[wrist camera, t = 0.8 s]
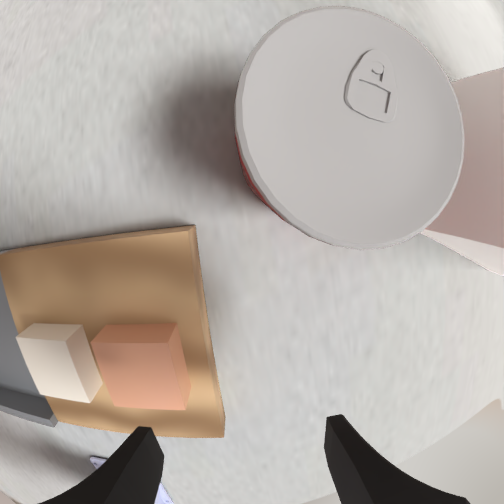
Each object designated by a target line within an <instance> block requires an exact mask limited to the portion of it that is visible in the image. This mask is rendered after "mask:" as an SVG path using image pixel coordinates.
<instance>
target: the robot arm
mask: <svg viewBox="0 0 504 504" xmlns="http://www.w3.org/2000/svg"><path fill="white" fill-rule="evenodd" d="M324 449H325V454H326V459H327V463H328V467H329V470H330V473H331V476H332V479H333V481H334V484H335V487H336V490H337V493H338V495H339V498H340V501H341V504H470V503H469V502H468V500H467V499H466V498H464V497H460V496H456V495H453V494H449V493H446V492H443V491H441V490H438V489H436V488H433V487H431V486H429V485H427V484H425V483H422V482H420V481H418V480H416V479H414V478H413V477H411V476H409V475H408V474H406V473H404V472H403V471H401V470H400V469H398V468H397V467H395V466H394V465H393V464H391V463H390V462H389V461H388V460H386V459H385V458H384V457H383V456H381V455H380V454H379V453H378V452H377V451H376V450H375V449H374V448H373V447H371V446H370V445H369V444H368V443H367V442H366V441H365V440H364V439H363V438H362V437H361V436H360V434H359V433H358V432H357V431H356V430H355V429H354V428H353V427H352V425H351V424H350V423H349V422H348V421H347V419H346V418H345V417H344V416H343V415H342V414H340V415H335V416H330V417H327V421H326V432H325V442H324ZM90 461H91V462H92V464H93V465H94V467H95V468H96V469H97V470H96V471H95V472H93V473H92V474H91V475H90V476H88V477H87V478H86V479H84V480H83V481H82V482H80V483H79V484H77V485H76V486H74V487H73V488H71V489H69V490H67V491H66V492H64V493H62V494H60V495H58V496H56V497H54V498H52V499H49V500H47V501H45V502H42V503H39V504H174V503H173V502H172V500H171V498H170V497H169V495H168V494H167V492H166V490H165V489H164V487H163V485H162V484H161V482H160V481H161V477H162V471H163V463H164V454H163V452H162V450H161V448H160V446H159V443H158V441H157V439H156V437H155V435H154V432H153V430H152V428H151V427H143V426H138V427H137V428H136V429H135V430H134V431H133V432H132V433H131V435H130V436H129V437H128V438H127V439H126V440H125V441H124V442H123V444H122V445H121V446H120V447H119V448H118V449H117V450H116V451H115V452H114V453H113V454H112V455H111V456H110V457H109V458H108V459H107V460H106V459H101V458H96V457H91V458H90Z"/></svg>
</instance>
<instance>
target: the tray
mask: <svg viewBox="0 0 504 504" xmlns="http://www.w3.org/2000/svg"><path fill="white" fill-rule="evenodd" d="M15 249H16V248H15ZM10 250H13V249H9V250H3V251H0V254H2V253H4V252H7V251H10ZM17 335H19V334H18V331H17V329H16V326H15V323H14V320H13V316H12V313H11V310H10V307H9V303H8V300H7V296H6V292H5V289H4V285H3V281H2V276H1V272H0V411H3V412H6V413H8V414H11V415H14V416H17V417H20V418H23V419H26V420H29V421H33V422H36V423H39V424H43V425H46V426H50V427H55V425H56V424H57V422H58V420H57V418H56V416H55V415H54V413H53V411H52V409H51V407H50V405H49V403H48V401H47V399H46V398H45V396H44V395H41V394H40V393H39V391H38V389H37V387H36V385H35V383H34V380H33V378H32V376H31V374H30V372H29V369H28V367H27V365H26V362H25V360H24V357H23V355H22V353H21V350H20V347H19V345H18V342H17V339H16V336H17Z"/></svg>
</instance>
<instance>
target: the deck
mask: <svg viewBox="0 0 504 504" xmlns="http://www.w3.org/2000/svg"><path fill="white" fill-rule="evenodd" d="M0 272H1V276H2V281H3V285H4V289H5V292H6V296H7V300H8V303H9V307H10V310H11V313H12V316H13V320H14V323H15V326H16V329H17V331H18V334H20V333H21V332H23V331H24V330H25V329H27V328H28V327H29V326H30V325H32V324H33V323H44V324H82V325H83V328H84V331H85V334H86V337H87V341H88V344H89V347H90V350H91V353H92V356H93V358H94V361H95V364H96V367H97V369H98V372H99V375H100V377H101V380H102V383H103V384H102V386H101V387H100V389H99V390H98V392H97V394H96V395H95V397H94V398H93V400H92V401H91V403H85V402H78V401H72V400H66V399H61V398H55V397H50V396H45V395H44V396H45V398H46V399H47V401H48V403H49V405H50V407H51V409H52V411H53V413H54V415H55V416H56V418H57V420H58V421H60V422H64V423H68V424H73V425H78V426H83V427H88V428H94V429H100V430H107V431H113V432H121V433H129V434H131V433H132V432H133V431H134V430H135V429H136V428H137V427H138V426H143V427H151V428H152V430H153V432H154V435H155V436H164V437H187V438H222V437H224V430H225V413H224V408H223V403H222V397H221V392H220V387H219V382H218V376H217V371H216V365H215V359H214V354H213V348H212V342H211V336H210V329H209V323H208V317H207V310H206V303H205V297H204V290H203V282H202V275H201V268H200V260H199V252H198V244H197V235H196V227H195V225H192V226H182V227H173V228H164V229H155V230H146V231H138V232H129V233H121V234H113V235H105V236H98V237H90V238H83V239H76V240H68V241H61V242H55V243H48V244H41V245H35V246H28V247H22V248H16V249H13V250H10V251H7V252H4V253H2V254H0ZM162 323H177V325H178V330H179V335H180V339H181V344H182V349H183V353H184V358H185V362H186V367H187V371H188V375H189V379H190V383H191V390H190V394H189V399H188V403H187V407H186V410H159V409H141V408H128V407H117V406H114V404H113V401H112V399H111V397H110V394H109V392H108V389H107V387H106V384H105V382H104V379H103V377H102V374H101V371H100V369H99V366H98V363H97V360H96V357H95V355H94V352H93V349H92V346H91V343H90V342H91V341H92V340H93V339H94V338H95V337H96V336H97V334H98V333H99V332H100V331H101V330H102V329H103V328H104V327H105V326H106V325H121V324H162Z"/></svg>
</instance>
